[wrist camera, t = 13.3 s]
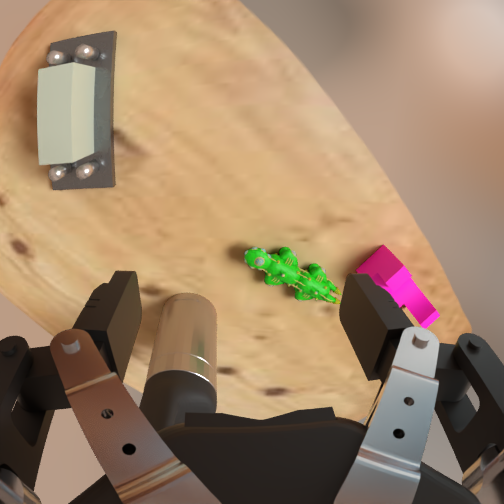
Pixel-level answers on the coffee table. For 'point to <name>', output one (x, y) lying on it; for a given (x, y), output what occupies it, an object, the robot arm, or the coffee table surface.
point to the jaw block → (65, 113)
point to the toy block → (399, 284)
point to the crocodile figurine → (292, 274)
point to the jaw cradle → (102, 160)
